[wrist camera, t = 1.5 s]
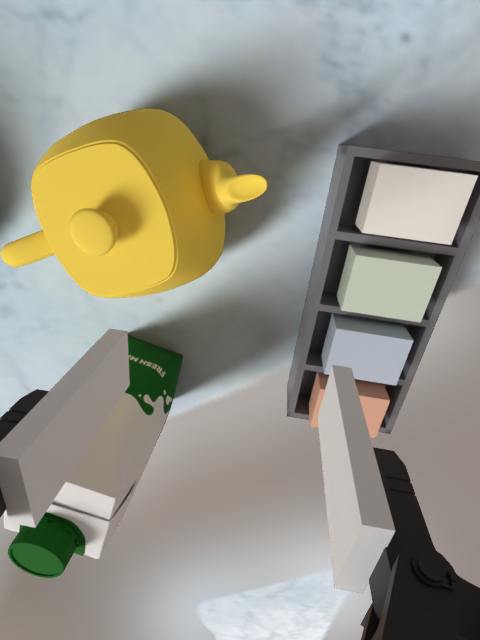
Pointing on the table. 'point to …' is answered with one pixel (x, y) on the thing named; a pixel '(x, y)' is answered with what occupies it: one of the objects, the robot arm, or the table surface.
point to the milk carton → (103, 470)
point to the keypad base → (344, 232)
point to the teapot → (132, 205)
